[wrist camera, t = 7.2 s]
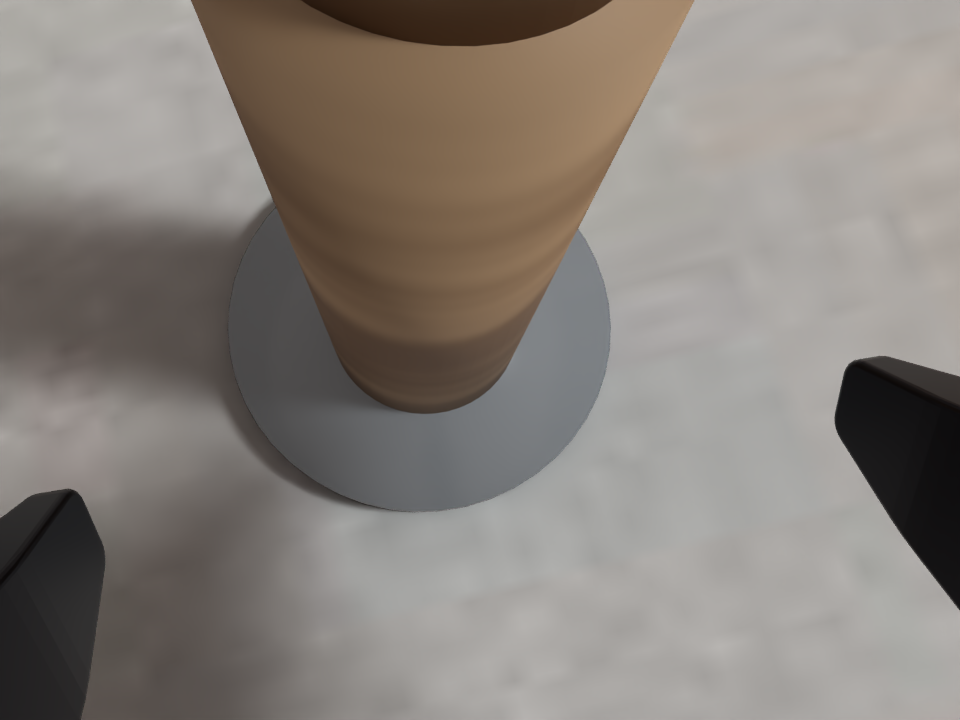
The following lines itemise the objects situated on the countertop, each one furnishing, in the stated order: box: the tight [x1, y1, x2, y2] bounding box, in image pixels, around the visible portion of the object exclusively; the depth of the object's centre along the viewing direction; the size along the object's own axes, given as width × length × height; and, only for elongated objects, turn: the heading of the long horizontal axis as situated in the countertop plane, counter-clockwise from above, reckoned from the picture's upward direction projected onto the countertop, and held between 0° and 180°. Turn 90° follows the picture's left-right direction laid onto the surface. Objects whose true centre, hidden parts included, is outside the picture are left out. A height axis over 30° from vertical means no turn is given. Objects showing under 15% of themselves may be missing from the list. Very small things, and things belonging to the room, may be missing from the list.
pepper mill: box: [191, 0, 694, 414], centre depth 10 cm, size 4×4×15 cm
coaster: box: [228, 208, 611, 512], centre depth 17 cm, size 9×9×1 cm
